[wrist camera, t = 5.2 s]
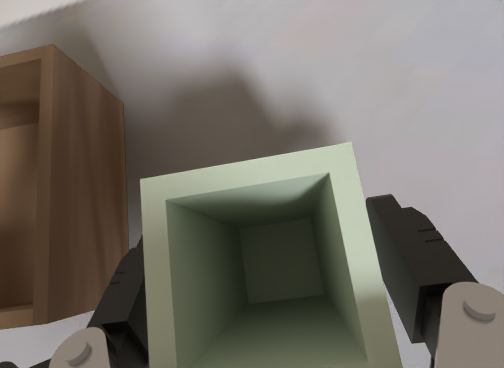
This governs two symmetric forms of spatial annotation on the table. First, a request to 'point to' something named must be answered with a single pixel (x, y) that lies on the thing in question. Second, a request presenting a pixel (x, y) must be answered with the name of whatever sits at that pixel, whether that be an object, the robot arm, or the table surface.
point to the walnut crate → (58, 188)
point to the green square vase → (264, 266)
